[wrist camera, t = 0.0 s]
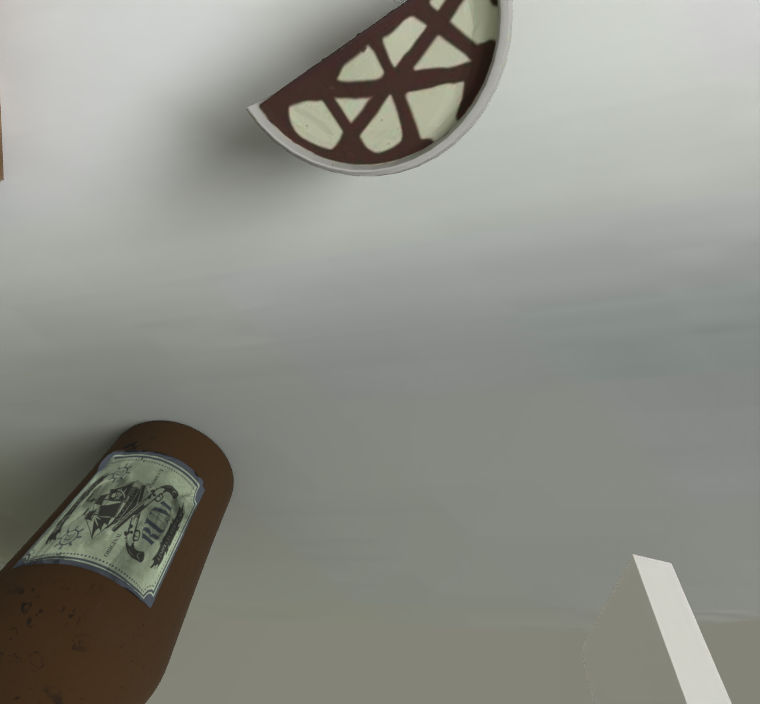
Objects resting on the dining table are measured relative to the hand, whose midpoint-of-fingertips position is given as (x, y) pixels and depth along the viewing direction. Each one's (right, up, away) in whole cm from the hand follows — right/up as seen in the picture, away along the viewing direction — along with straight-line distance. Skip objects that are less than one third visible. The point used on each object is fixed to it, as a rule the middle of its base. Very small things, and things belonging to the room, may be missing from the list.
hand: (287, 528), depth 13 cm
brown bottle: (-14, -5, +36) cm, 39 cm away
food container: (+4, +18, +23) cm, 30 cm away
